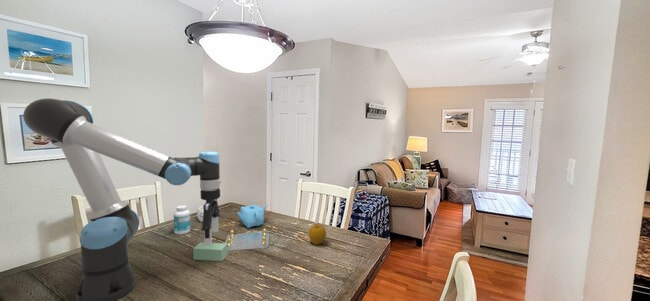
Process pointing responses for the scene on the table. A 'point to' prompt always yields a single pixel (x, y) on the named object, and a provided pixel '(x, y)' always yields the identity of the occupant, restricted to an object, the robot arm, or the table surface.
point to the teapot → (252, 215)
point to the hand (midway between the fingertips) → (211, 238)
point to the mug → (200, 213)
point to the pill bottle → (181, 220)
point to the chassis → (247, 240)
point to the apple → (317, 234)
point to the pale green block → (210, 251)
